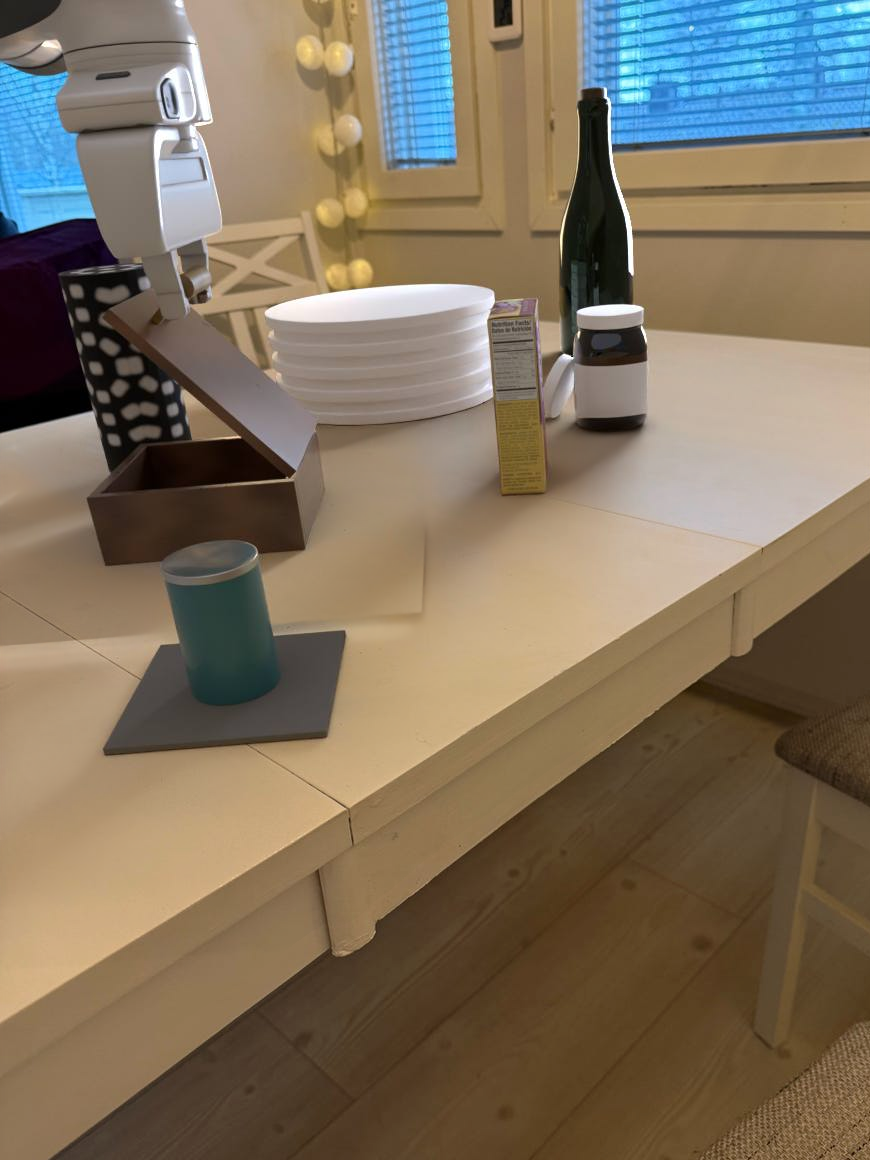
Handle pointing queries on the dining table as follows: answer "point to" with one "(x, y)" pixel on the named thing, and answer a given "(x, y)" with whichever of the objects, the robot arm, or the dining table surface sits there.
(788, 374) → the dining table surface
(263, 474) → the storage box
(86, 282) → the spotted tube
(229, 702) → the can
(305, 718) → the mat
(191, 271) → the lid
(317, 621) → the dining table surface
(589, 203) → the dark green wine bottle
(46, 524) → the dining table surface
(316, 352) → the plate stack
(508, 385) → the candy box
